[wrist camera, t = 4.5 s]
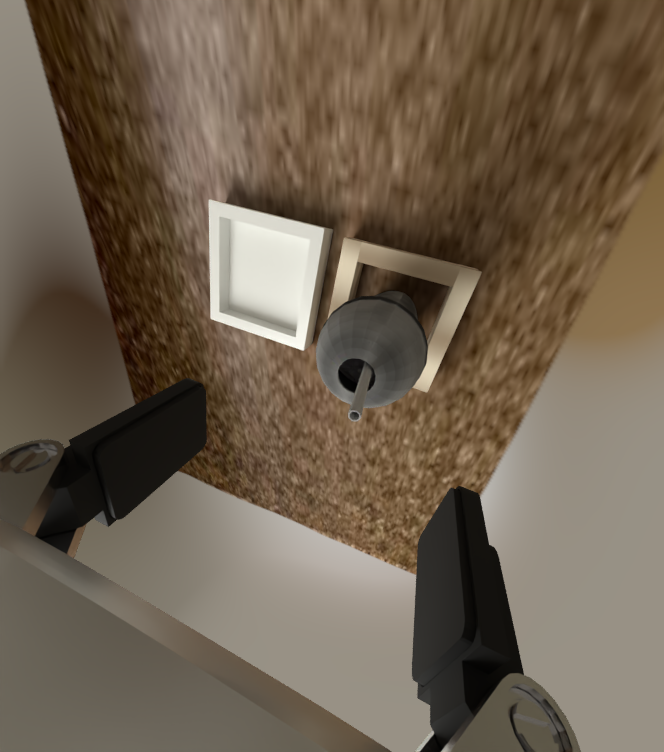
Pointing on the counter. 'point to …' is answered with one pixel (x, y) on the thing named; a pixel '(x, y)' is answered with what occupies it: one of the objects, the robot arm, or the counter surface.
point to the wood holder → (416, 266)
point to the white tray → (266, 272)
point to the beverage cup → (372, 350)
